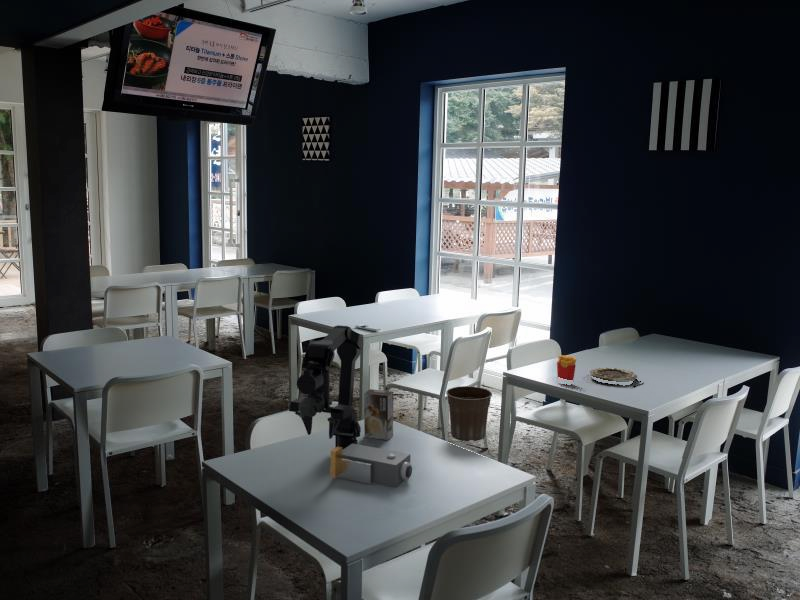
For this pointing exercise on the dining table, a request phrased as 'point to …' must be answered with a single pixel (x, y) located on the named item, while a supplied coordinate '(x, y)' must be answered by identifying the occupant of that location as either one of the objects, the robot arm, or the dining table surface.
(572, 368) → the french fries
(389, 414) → the coffee box
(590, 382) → the dining table surface
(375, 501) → the dining table surface
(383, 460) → the camera housing
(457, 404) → the plant pot
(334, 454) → the orange and silver box
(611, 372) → the pie
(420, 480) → the dining table surface
